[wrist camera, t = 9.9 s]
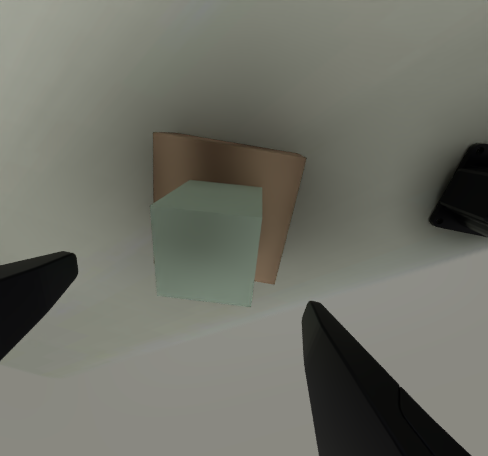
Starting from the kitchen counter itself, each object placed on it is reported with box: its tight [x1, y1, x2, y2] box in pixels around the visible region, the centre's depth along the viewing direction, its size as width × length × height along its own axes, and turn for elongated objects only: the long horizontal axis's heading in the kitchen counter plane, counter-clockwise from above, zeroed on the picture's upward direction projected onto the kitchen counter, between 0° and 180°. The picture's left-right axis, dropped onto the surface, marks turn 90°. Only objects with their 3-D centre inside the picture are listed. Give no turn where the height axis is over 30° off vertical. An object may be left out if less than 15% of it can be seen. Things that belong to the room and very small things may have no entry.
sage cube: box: [150, 180, 262, 307], centre depth 14 cm, size 5×5×6 cm
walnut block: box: [153, 132, 306, 284], centre depth 18 cm, size 10×10×4 cm
